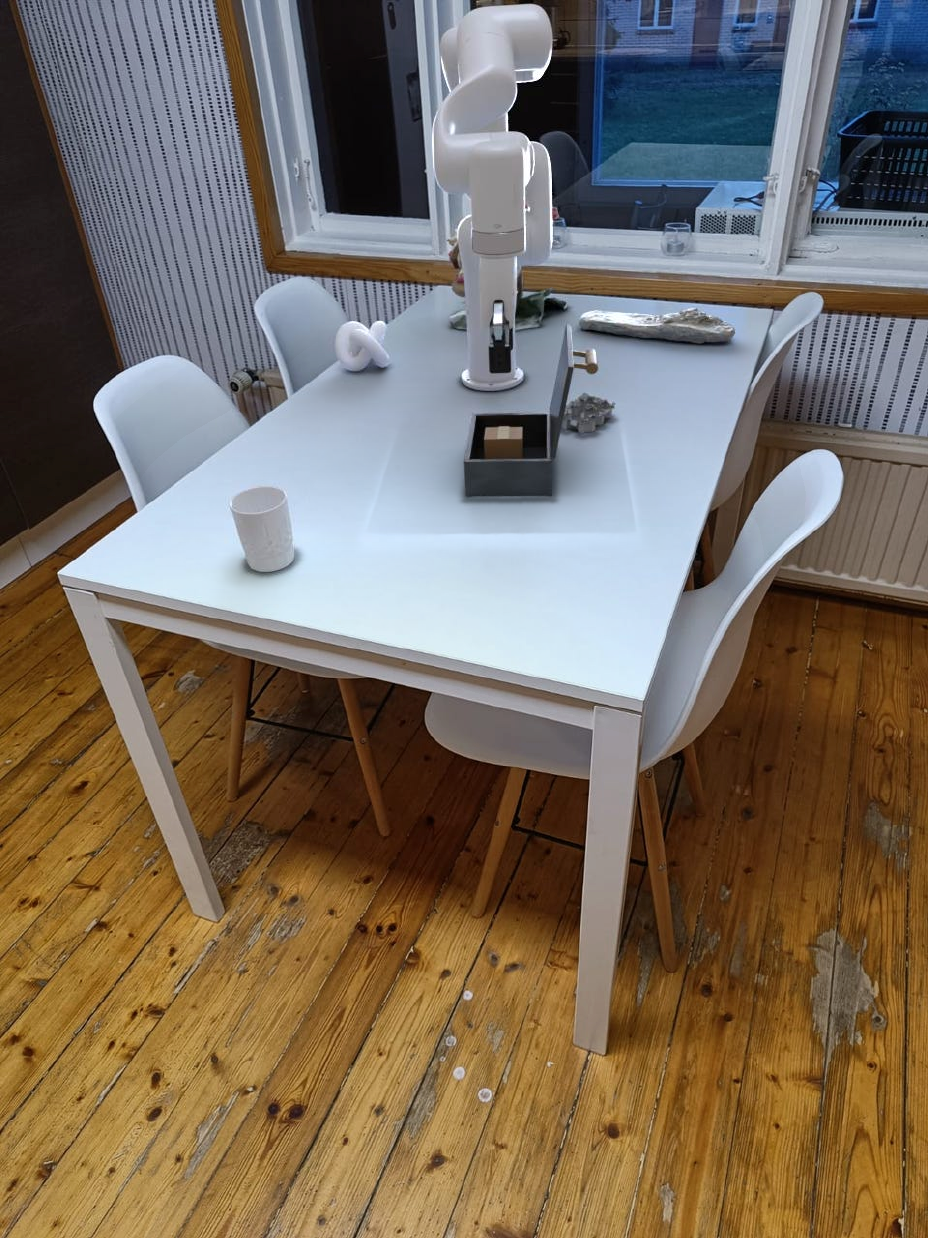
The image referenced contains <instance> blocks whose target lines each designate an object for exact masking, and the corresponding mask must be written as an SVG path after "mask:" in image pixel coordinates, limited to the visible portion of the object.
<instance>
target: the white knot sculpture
mask: <svg viewBox="0 0 928 1238" xmlns="http://www.w3.org/2000/svg"><path fill="white" fill-rule="evenodd" d="M387 332H388V326H387V324H386V323H385V322H384V321H382V320H376V321H375V322H374V323H372V324H371V326H370V328H368V327H366V326H365V325H364V324H363V323H361V322H358V321H354V320H353V321H352V320H351V321H348V322H347V321H346V322H345V323H343V324H342V325H341V326H340V327H339V329H338V330H337V333H336V335H335V339H334V350H335V356H336V357H337V360H338V361H339V364H340V365H341V366H342V367H343V368H345V369H346V370H348V371H351V372H360V371H362V370H364V369H365V368H366V367H367V366H368V365H369V364H370V363H371V362H372V361H373V362H374V363H375V365H376V366H377V367H379V368H386V367H388V366H389V364H390V357H389V355H388V353H387V352H386V351H385V349H384V348H383V346H381V345H382V344H383V342H384V340H385V337H386V335H387Z"/></svg>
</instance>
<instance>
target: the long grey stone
mask: <svg viewBox="0 0 928 1238" xmlns="http://www.w3.org/2000/svg"><path fill="white" fill-rule="evenodd" d="M578 326H579V327H580V328H581V329H582V330H583V331H585V330H594V331H597V332H598V331H599V332H604V333H608V334H609V333H611V334H615V335H619V336H621V335H624V336H629V337H634V338H641V339H650V338H652V339H664V340H668V341H675V342H683V341H684V342H690V343H692V344H698V345H701V344H704V343H718V342H730V341H731V340H732V339H733V337H734V336H735V334H736V330H735V327H734V326H733V325H732V324H730V323H728V322H727V321H726V320H725V321H724V320H723V319H721V318H719V317H718V316H716V315H713V314H711V315H710V314H709V315H708V314H707V313H706V312H704V311H699V310H698V308H697V307H691V308H686V309H684V310H680V311H678V312H669V313H667V314H660V315H653V314H652V315H651V314H647V313H646V314H643V313H628V312H617V311H616V312H615V311H604V310H600V309H598V310H590V311H587V312H584V313H581V315H580V318H579V319H578Z"/></svg>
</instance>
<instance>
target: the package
mask: <svg viewBox="0 0 928 1238" xmlns="http://www.w3.org/2000/svg"><path fill="white" fill-rule="evenodd" d="M484 448H485V459H523V437H522V427H510V426H503V427H492V428H486V429H485V437H484Z"/></svg>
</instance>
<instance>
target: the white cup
mask: <svg viewBox="0 0 928 1238" xmlns="http://www.w3.org/2000/svg"><path fill="white" fill-rule="evenodd" d="M229 500H230V501H229V504H228V505H229V509H230V512H231V515H232V519H233V522H234V525H235V528H236V532H237V535H238V539H239V541H240V545H241V547H242V548H241V549H242V550H243V551H244V555H245V560H246V562H247V565H248V566H249V567H250V569H251V570H254V571H257V572H258V573H270V572H276V571H280V570H282V569H285V568H286V567H288V566H290V564H292V562H294V558H295V549H294V548H295V547H294V543H293V541H294V539H293V538H294V537H293V530H292V523H291V515H290V510H289V509H290V508H289V502H288V495H287V493H286V492H285V490H284V489H282V488H280V487H277V486H271V485H260V486H254V487H250V488H247V489H243V490H242V491H239V492H238V493H236V494H235V495H234V496H232V497H231V499H229Z"/></svg>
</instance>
